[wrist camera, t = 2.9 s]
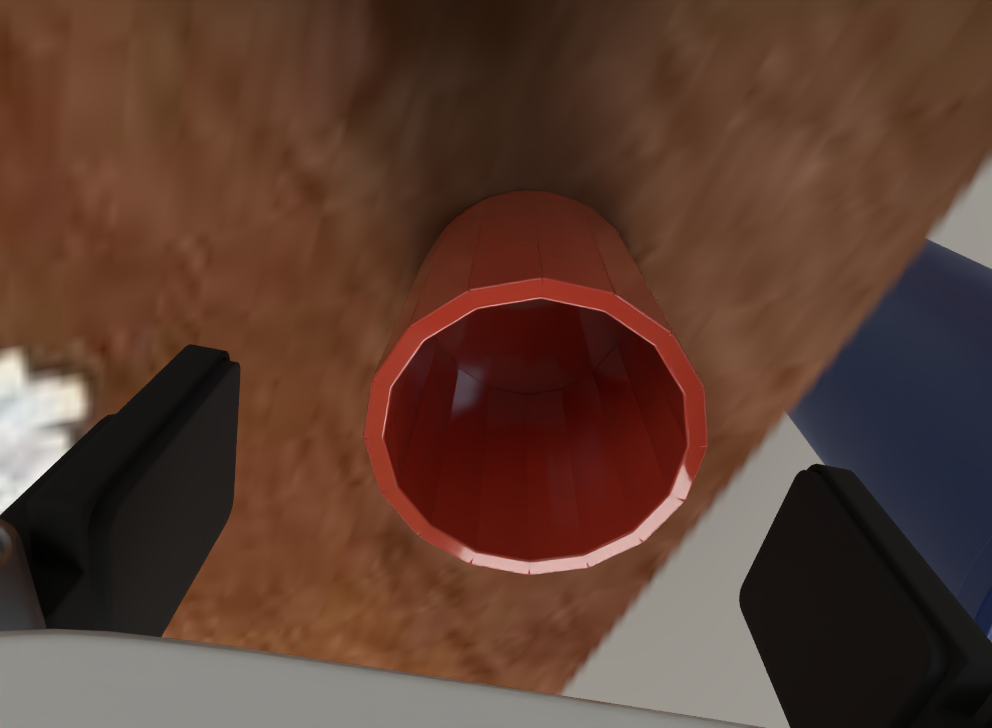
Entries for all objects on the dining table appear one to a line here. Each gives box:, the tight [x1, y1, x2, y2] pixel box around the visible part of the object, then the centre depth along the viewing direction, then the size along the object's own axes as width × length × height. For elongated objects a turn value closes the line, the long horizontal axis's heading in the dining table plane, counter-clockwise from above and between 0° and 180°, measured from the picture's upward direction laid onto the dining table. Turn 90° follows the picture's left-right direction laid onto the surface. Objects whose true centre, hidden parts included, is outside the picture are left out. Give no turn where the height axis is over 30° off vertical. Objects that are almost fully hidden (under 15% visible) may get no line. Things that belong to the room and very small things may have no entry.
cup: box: [363, 190, 708, 575], centre depth 16 cm, size 6×6×8 cm
